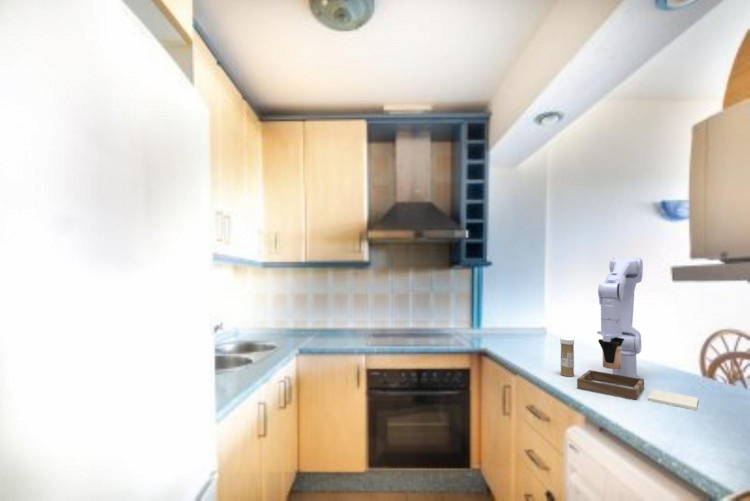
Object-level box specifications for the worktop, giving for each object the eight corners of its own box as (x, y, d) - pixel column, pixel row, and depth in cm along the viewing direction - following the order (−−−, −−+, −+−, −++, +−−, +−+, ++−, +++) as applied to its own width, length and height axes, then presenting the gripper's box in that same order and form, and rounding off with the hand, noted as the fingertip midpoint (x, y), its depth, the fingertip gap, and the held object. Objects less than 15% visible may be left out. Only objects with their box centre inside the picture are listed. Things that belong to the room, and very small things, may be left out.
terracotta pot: (603, 364, 127) (603, 343, 128) (623, 367, 123) (623, 346, 124) (599, 367, 123) (599, 345, 123) (620, 370, 119) (619, 348, 120)
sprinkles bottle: (557, 373, 140) (557, 337, 141) (569, 373, 141) (569, 337, 142) (565, 377, 136) (564, 339, 137) (577, 376, 136) (576, 339, 137)
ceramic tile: (652, 392, 120) (652, 389, 120) (698, 400, 113) (697, 397, 113) (647, 400, 112) (647, 397, 112) (696, 410, 105) (696, 407, 105)
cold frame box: (589, 378, 134) (589, 370, 135) (644, 388, 124) (644, 379, 124) (577, 388, 123) (577, 379, 123) (636, 400, 112) (636, 390, 112)
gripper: (602, 316, 132) (602, 355, 131) (591, 320, 121) (592, 362, 121) (626, 318, 127) (626, 359, 127) (617, 322, 117) (618, 366, 116)
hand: (611, 361), depth 123 cm, fingers closed on terracotta pot, 5 cm apart
